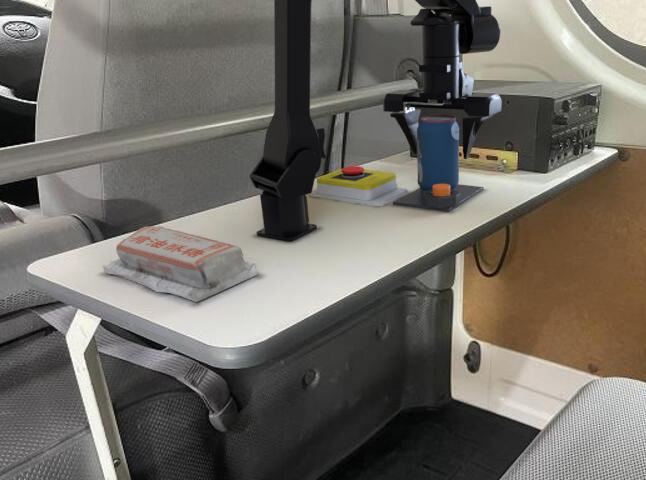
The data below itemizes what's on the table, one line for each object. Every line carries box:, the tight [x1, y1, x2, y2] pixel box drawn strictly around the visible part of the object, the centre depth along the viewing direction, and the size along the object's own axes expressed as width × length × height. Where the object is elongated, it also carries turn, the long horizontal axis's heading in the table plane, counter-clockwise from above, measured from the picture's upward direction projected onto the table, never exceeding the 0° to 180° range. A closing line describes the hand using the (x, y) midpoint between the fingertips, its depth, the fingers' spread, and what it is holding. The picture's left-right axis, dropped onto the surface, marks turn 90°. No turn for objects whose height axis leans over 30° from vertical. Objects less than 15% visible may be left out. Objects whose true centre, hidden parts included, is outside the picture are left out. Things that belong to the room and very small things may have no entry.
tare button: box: [433, 184, 450, 196], centre depth 99 cm, size 3×3×2 cm
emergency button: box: [310, 165, 409, 207], centre depth 108 cm, size 9×4×15 cm
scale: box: [392, 183, 485, 213], centre depth 104 cm, size 14×10×2 cm
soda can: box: [416, 114, 460, 192], centre depth 105 cm, size 7×7×12 cm
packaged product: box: [101, 225, 258, 303], centre depth 77 cm, size 18×5×10 cm
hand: (440, 156), depth 105 cm, fingers open, 9 cm apart
